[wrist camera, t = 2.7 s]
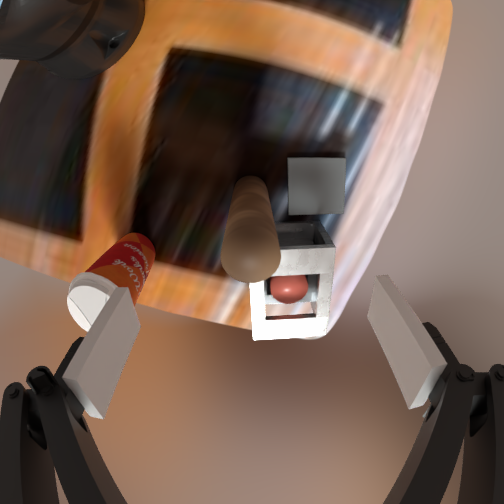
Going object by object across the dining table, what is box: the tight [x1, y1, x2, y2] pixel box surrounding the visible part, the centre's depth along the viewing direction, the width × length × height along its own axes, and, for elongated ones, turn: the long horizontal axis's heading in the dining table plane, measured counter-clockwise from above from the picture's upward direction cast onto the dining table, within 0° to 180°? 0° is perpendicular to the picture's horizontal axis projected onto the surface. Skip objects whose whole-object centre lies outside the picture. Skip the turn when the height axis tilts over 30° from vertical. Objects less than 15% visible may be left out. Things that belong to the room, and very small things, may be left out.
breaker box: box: [250, 220, 336, 340], centre depth 35 cm, size 12×9×8 cm
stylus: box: [221, 176, 281, 283], centre depth 27 cm, size 4×4×17 cm
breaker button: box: [269, 275, 308, 304], centre depth 35 cm, size 4×4×3 cm
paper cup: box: [67, 233, 155, 332], centre depth 32 cm, size 8×8×14 cm
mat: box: [287, 157, 346, 215], centre depth 34 cm, size 7×7×1 cm
